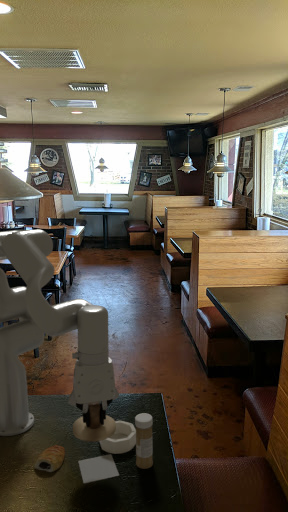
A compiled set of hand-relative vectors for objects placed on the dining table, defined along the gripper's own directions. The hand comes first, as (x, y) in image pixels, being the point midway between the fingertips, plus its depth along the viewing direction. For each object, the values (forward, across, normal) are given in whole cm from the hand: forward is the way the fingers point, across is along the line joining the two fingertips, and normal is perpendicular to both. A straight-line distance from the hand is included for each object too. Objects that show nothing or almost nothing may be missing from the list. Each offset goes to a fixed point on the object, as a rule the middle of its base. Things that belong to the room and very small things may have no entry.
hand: (94, 422), depth 106 cm
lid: (+2, 0, 0) cm, 2 cm away
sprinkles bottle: (+13, +13, -3) cm, 18 cm away
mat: (+13, +1, -1) cm, 13 cm away
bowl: (+13, +8, +8) cm, 17 cm away
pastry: (+14, -11, +6) cm, 18 cm away
